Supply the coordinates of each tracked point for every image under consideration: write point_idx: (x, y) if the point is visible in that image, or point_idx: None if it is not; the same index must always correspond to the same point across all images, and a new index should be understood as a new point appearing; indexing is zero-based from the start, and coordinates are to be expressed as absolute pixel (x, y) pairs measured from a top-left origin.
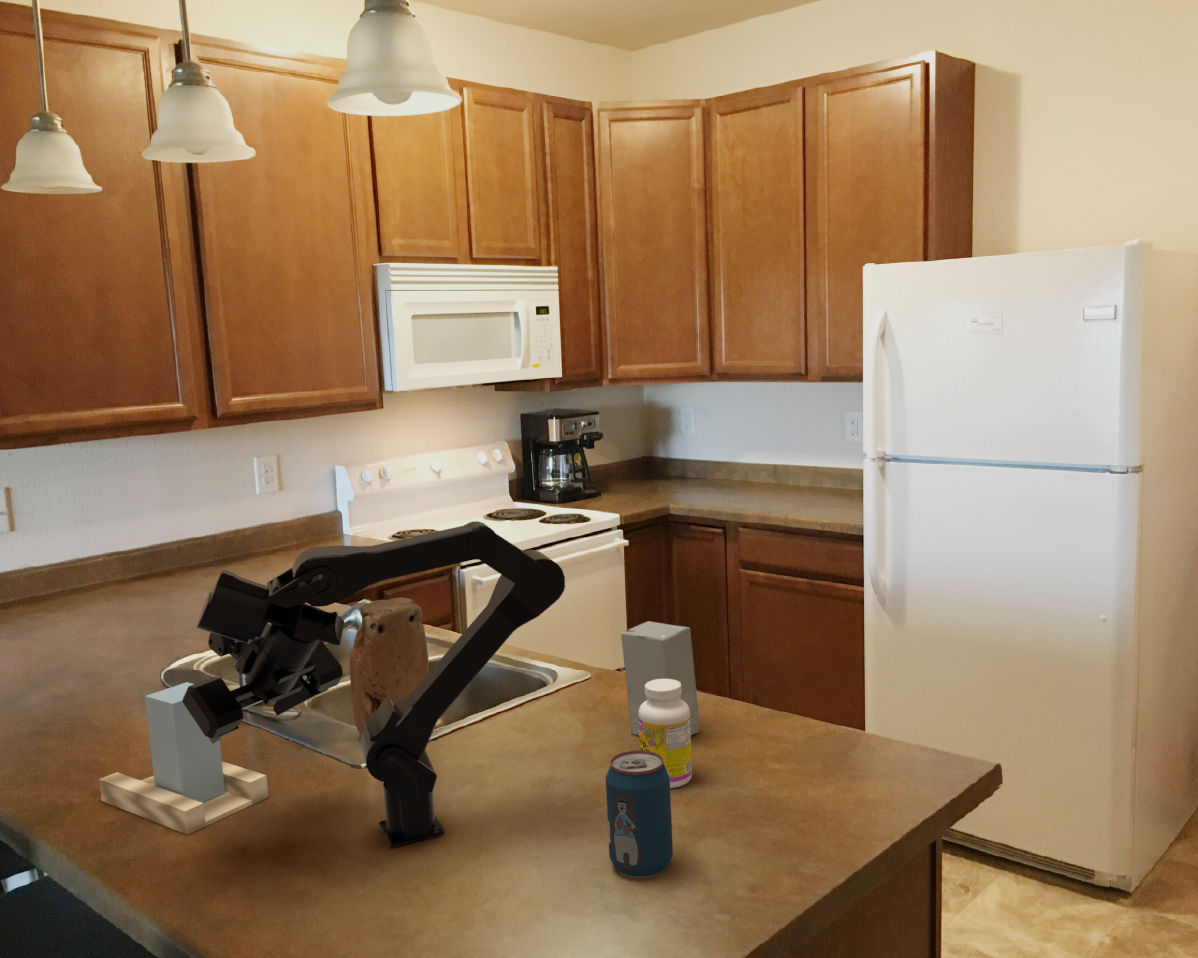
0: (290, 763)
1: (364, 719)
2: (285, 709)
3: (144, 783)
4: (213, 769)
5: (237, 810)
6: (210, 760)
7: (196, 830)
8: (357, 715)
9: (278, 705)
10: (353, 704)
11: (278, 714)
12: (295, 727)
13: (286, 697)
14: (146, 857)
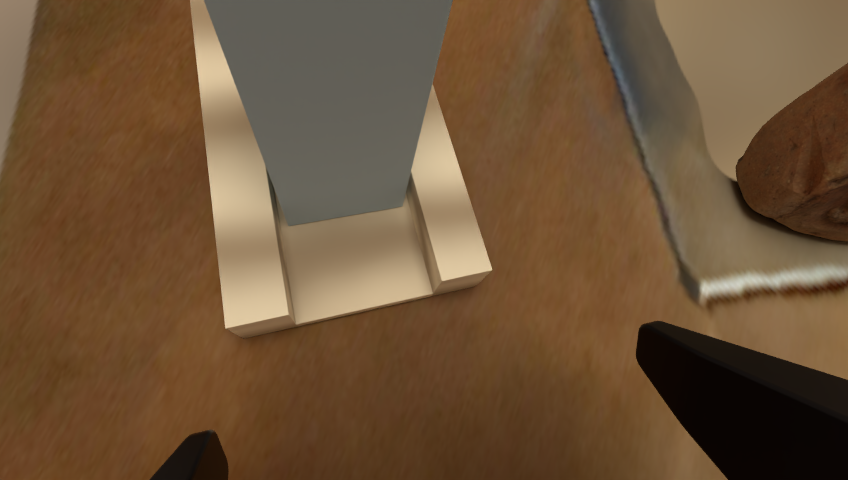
0: (574, 159)
1: (793, 172)
2: (707, 449)
3: None
4: (382, 177)
5: (390, 304)
6: (377, 162)
7: (269, 332)
8: (784, 143)
9: (688, 384)
10: (802, 110)
11: (645, 372)
12: (634, 20)
13: (798, 477)
14: (103, 387)
